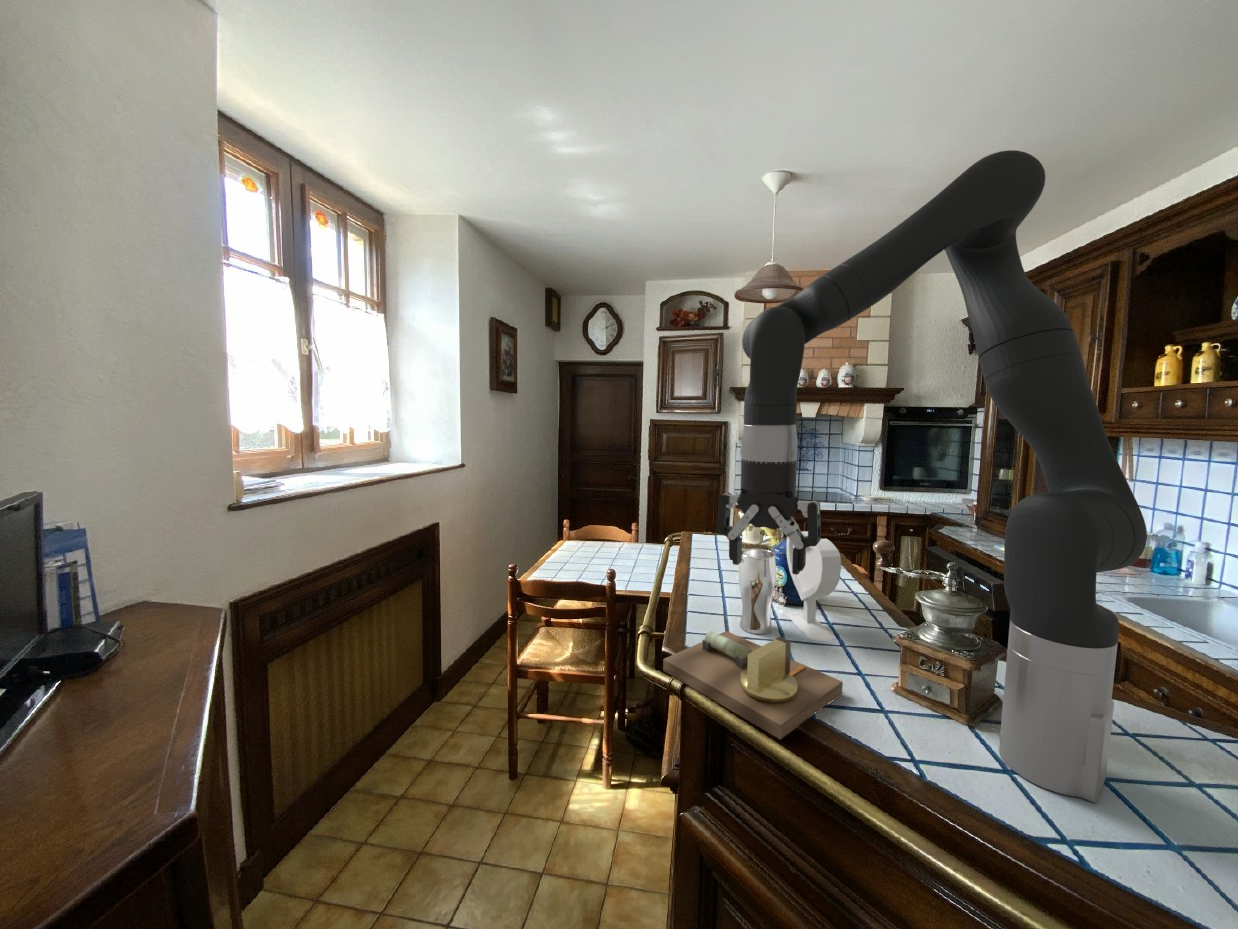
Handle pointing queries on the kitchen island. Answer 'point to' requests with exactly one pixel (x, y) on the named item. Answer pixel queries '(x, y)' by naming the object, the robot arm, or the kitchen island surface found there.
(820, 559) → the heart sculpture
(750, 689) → the wing knob
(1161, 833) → the kitchen island surface
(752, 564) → the beer glass
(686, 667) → the knob and handle board
